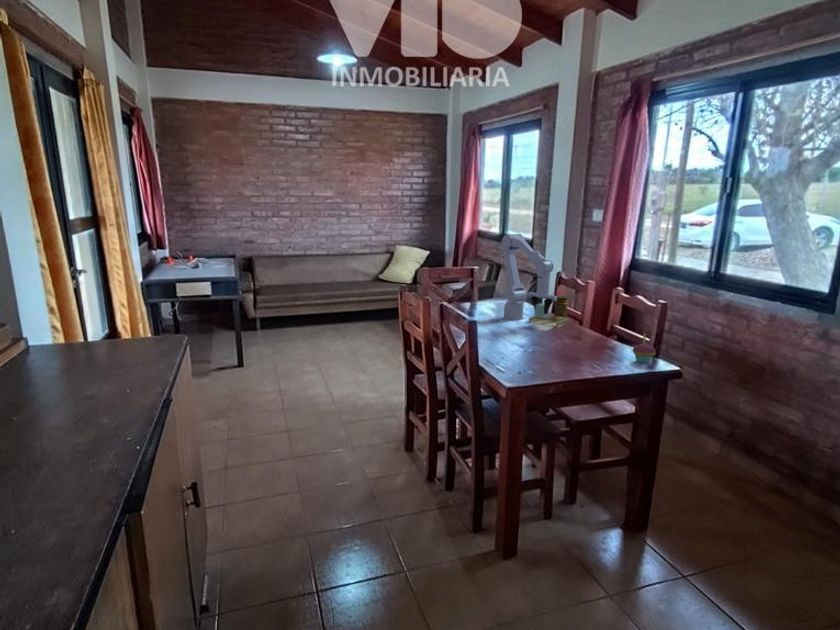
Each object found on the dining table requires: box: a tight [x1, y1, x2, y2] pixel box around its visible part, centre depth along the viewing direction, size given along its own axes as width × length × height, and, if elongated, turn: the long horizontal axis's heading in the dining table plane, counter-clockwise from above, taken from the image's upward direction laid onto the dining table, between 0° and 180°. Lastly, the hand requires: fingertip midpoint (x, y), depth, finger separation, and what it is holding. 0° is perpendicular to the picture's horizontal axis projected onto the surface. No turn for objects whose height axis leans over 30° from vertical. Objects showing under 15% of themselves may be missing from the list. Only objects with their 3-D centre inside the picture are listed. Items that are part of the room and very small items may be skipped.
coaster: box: [530, 324, 554, 331], centre depth 252 cm, size 8×8×1 cm
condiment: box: [553, 295, 568, 318], centre depth 268 cm, size 7×8×12 cm
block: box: [534, 302, 549, 318], centre depth 253 cm, size 4×4×6 cm
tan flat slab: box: [528, 314, 570, 329], centre depth 261 cm, size 16×12×3 cm
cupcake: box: [632, 331, 657, 364], centre depth 205 cm, size 9×8×12 cm
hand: (541, 312), depth 253 cm, fingers closed on block, 4 cm apart
